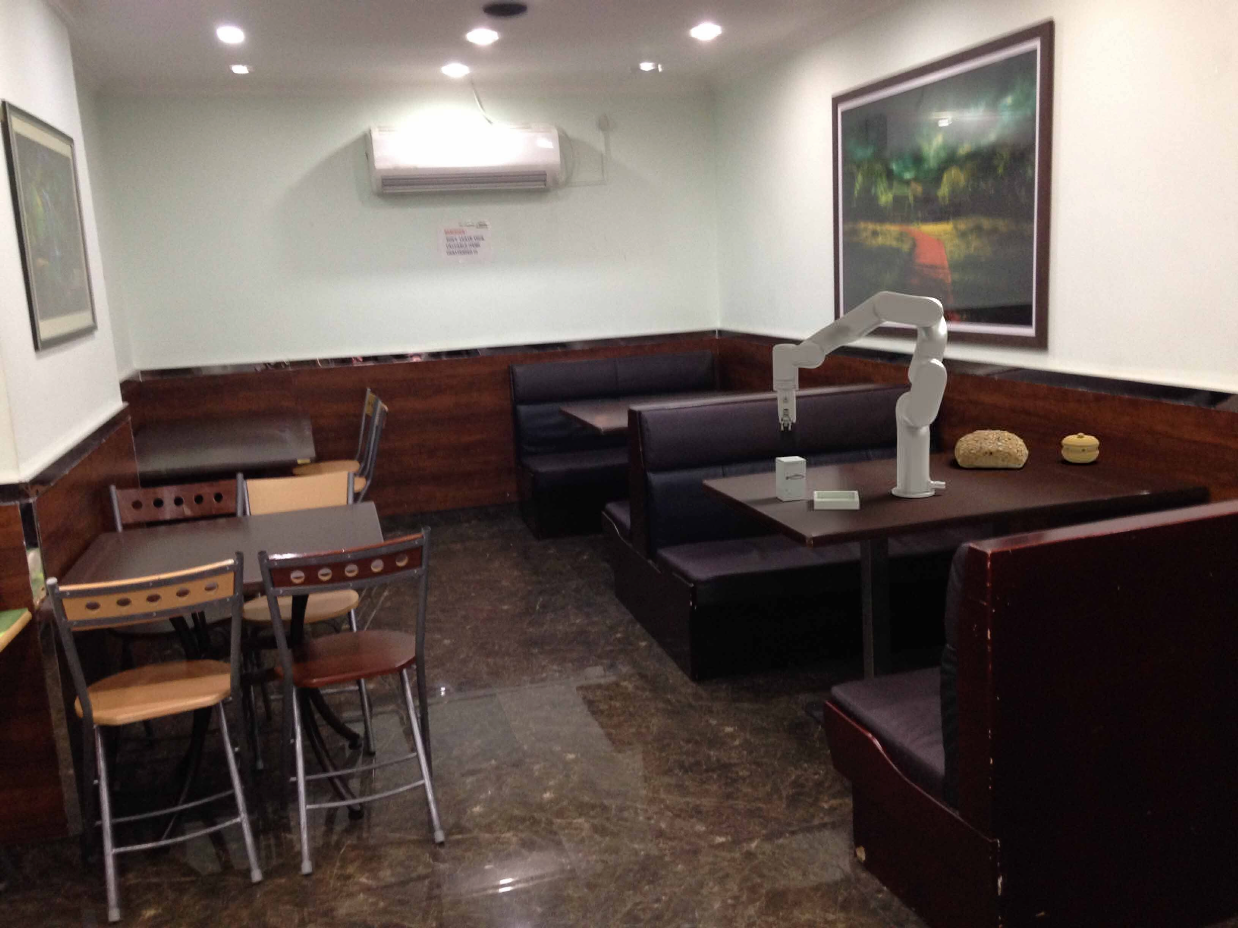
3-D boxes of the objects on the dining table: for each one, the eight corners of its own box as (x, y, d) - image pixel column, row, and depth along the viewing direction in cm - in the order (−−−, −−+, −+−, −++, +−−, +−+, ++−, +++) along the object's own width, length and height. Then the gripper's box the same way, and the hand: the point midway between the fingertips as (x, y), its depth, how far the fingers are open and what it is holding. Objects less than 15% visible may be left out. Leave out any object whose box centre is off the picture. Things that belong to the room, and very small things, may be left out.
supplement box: (784, 501, 317) (783, 461, 315) (775, 496, 324) (774, 457, 322) (806, 499, 319) (806, 459, 316) (798, 494, 326) (797, 455, 323)
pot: (1053, 461, 357) (1054, 432, 355) (1081, 457, 360) (1082, 429, 358) (1077, 466, 346) (1078, 437, 344) (1106, 463, 349) (1107, 434, 347)
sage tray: (857, 498, 316) (857, 490, 316) (859, 509, 304) (859, 500, 303) (814, 499, 319) (814, 491, 318) (814, 509, 306) (814, 501, 306)
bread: (954, 470, 351) (955, 435, 348) (954, 458, 370) (954, 425, 368) (1031, 471, 343) (1032, 435, 341) (1027, 458, 363) (1028, 425, 361)
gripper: (797, 388, 306) (798, 445, 309) (798, 381, 323) (799, 435, 326) (772, 388, 307) (773, 445, 311) (774, 381, 324) (775, 435, 327)
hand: (786, 440), depth 318 cm, fingers open, 9 cm apart
